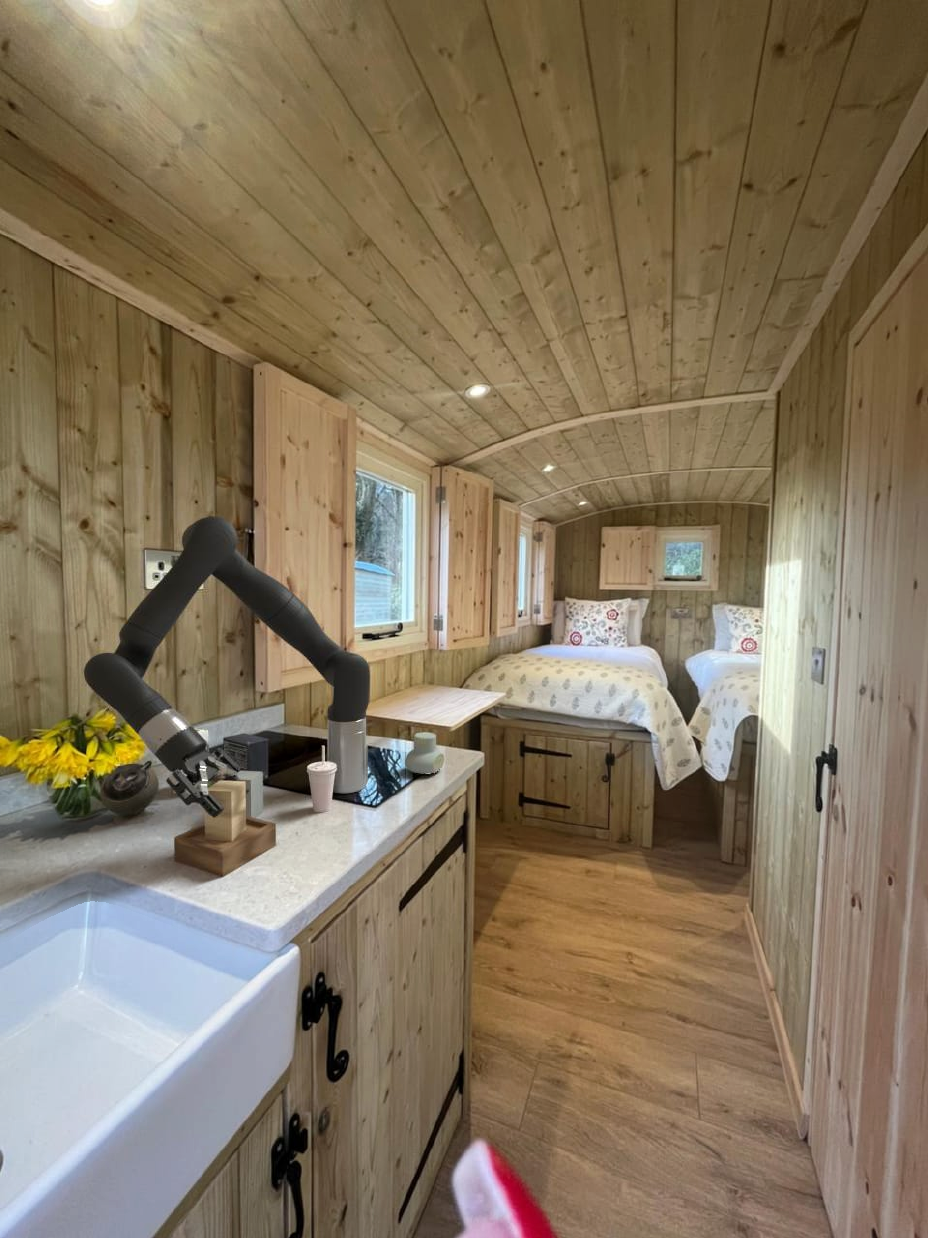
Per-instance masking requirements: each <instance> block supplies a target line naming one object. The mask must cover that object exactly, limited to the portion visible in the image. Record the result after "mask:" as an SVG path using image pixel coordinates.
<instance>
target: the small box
mask: <svg viewBox="0 0 928 1238" xmlns="http://www.w3.org/2000/svg"><path fill="white" fill-rule="evenodd" d="M222 740H223V743H222V744H223V751H224V752H225V753H226V754H227V755H228V756H229V757H230V758H231V759H232V760H233V761H234V762H235V763H236V764H237V765H238V766H239V767H240V770H239V771H259V772H263V781H264V780H267V779H269V739H268V738H267V737H261V736H259V735H254V734H253V735H252V734H248V733H245V732H244V733H239V734H234V735H231V736H230V735H229V736H224V737H223V739H222ZM227 766H228V768H230V769H232V767H231V766H230V765H229V764H227ZM239 771H238V772H239ZM224 776H226V777H227V775H226V774H224Z"/></svg>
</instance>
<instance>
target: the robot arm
mask: <svg viewBox="0 0 928 1238" xmlns="http://www.w3.org/2000/svg"><path fill="white" fill-rule="evenodd" d="M238 543H239V537H238V534H237V530H236V529H235V526H233V524H232V523H231V522H230V521H229V520H227V519H225V518H223V517H221V516H220V517H219V516H205V517H201V518H200V519H198V520H196V521H194V523H191V524H190V525H189V526H188V527H187V528H186V529H185V530H184V531H183V533H182V536H181V545H182V548H183V549H182V551H181V553H180V555H179V556H178V558H177V560H176V561H175V562H174V564H173V565H172V566H171V568H170V569H169V570H168V572H167V573H166V574H165V575H164V576H163V578H162V579H161V580H160V581H159V582H158V583H157V584H156V585H155V586H154V587H152V589H151V590H150V591H149V592H148V593H147V595H146V596H145V598H143V599H142V600H141V602H140V603H139V604H138V606H136V608H135V609H134V611H132V613H131V614H130V616H129V617H128V619H126V621H125V622H124V624H123V625H122V626H121V629H120V630H119V634H118V636H119V640H120V642H119V644H118V645H117V647H116V648H115V650H114V652H101V653H98V654H96V655H93V656H92V657H91V658H89V659H88V660H87V662H86V663H85V666H84V668H83V676H84V680H85V682H86V684H87V685H88V686H89V688H90V689H91V690H92V691H93V692H94V693H95V694H96V695H97V696H98V697H100V699H102V700H103V701H104V702H106V703H107V704H108V705H109V707H111V708H113V709H114V710H115V711H117V713H118V714H120V716H121V717H122V719H124V722H126V723H127V724H128V725H129V726H130V727H131V729H132V730H133V731H134V732H135V733H136V734H137V735H138V737H139V738H140V739H141V741H142V742H143V744H144V745H145V746H146V747H147V748H148V749H149V750H150V752H151V753H152V754H153V755H154V756H155V757H156V758H157V759H158V760H159V761H160V762H161V763H162V765H163V766H164V767H165V768H166V769H167V770H168V771H169V772H171V774H170V775H169V776H168V777H167V778H166V780H165V781H166V783H167V784H168V785H169V787H170V788H171V789H172V791H173V790H174V791H175V792H176V794H175V795H177V796H178V798H180V800H181V801H182V803H184V804H185V805H186V806H190V805H191V804H196V805H200V807H202V809H203V811H204V812H205V811H206V812H207V813H208V814H209V815H211V816H212V817H213V818H215V817H217V816H218V815H219V814H220V813H221V812H222V811H223V810H224V808H223V807H222V805H221V804H220V803H219V802H218V801H217V800H216V799H215V798H214V797H213V796H212V795H211V794H209V795H208V788H207V783H208V782H209V781H210V782H211V781H213V782H218V781H220V780H222V781H241V780H240V779H239V778H238V776H237V775H238V771H239V770H240V767H239V766H238V765H237V764H236V763H235V762H234V761H233V760H232V759H231V758H230V757H229V756H228V755H227V754H226V753H225V752H224V749H222V748H221V747H217V749H216V750H215V751H214V752H212V753H211V752H208V751H207V750H206V746H207V742H206V741H205V739H204V738H203V737H202V736H201V735H200V734H199V733H198V732H197V731H196V730H195V729H194V728H195V727H194V726H193V725H192V724H191V723H189V721H188V719H186V718H185V717H184V716H183V715H182V714H181V713H179V712H178V711H177V710H176V709H175V708H174V707H172V705H171V704H170V703H169V702H168V701H167V700H166V699H165V698H164V697H163V695H161V694H160V693H159V692H158V691H156V689H154V688H152V687H151V686H150V685H148V683H146V682H145V680H144V679H143V678H144V676H145V675H146V673H147V670H148V669H149V666H150V664H151V662H152V660H153V657H154V656H155V655H154V654H155V652H156V650H157V649H158V647H159V646H160V645H161V643H162V642H163V641H164V639H165V638H166V637H167V635H168V634H169V632H170V631H171V630H172V628H173V627H174V625H175V624H176V622H177V621H178V620H179V617H180V616H181V615H182V613H183V612H184V611H185V609H186V607H188V605H189V603H190V601H191V600H192V599H193V597H194V596H195V595H196V593H198V590H199V589H200V588H201V587H202V586H203V584H204V583H206V581H207V580H208V578H210V577H211V575H212V576H213V577H214V578H216V579H217V580H219V581H220V582H221V583H222V584H223V585H224V586H225V587H227V588H228V589H229V591H231V592H232V593H233V594H234V595H235V596H236V597H237V598H238V599H239V600H240V601H241V602H242V603H243V605H245V607H247V608H248V609H249V610H250V611H251V612H252V613H253V614H254V615H255V616H256V617H257V618H258V619H259V620H260V621H261V622H262V623H263V624H265V626H266V627H268V628H269V629H270V630H271V631H272V632H273V633H274V634H276V635H277V636H278V637H279V638H280V639H282V640H283V641H284V642H285V643H287V644H288V645H289V646H291V647H292V648H293V649H294V650H296V651H297V652H299V653H300V654H302V656H303V657H305V659H306V660H307V661H308V662H309V663H310V664H311V665H312V666H313V667H314V668H315V670H317V672H318V673H319V674H320V675H321V677H322V678H323V679H324V680H325V681H326V682H327V683H328V684H329V685H330V686H331V687H332V689H333V690H332V692H333V694H332V703H331V704H330V705H329V706H328V707H327V713H326V714H327V719H326V720H327V724H326V725H327V762H333V763H335V764H336V765H337V770H336V771H335V777H334V785H333V793H334V794H335V793H337V794H351V793H355V792H360V791H362V790H363V789H365V788H366V786H367V783H369V782H368V780H369V775H368V773H369V768H368V767H369V764H368V763H369V760H368V758H369V757H368V755H369V747H368V745H367V709H368V708H369V704H370V687H371V672H370V666H369V663H368V661H367V660H366V658H364V657H363V656H362V655H360V654H358V653H352V652H351V651H350V652H349V651H347V650H345V649H343V648H342V647H341V646H340V645H338V644H337V643H336V642H335V641H333V640H332V638H330V637H329V636H328V635H327V634H326V633H325V631H324V630H323V629H322V628H321V626H320V625H319V623H318V622H317V621H318V620H316V618H315V616H314V614H313V613H312V611H310V609H309V607H307V605H306V604H305V603H304V601H301V599H300V598H299V597H298V596H297V595H296V594H295V593H294V592H293V591H292V590H290V588H288V587H287V586H286V585H284V584H283V583H281V582H280V581H279V580H277V579H275V578H274V577H272V576H270V575H269V574H267V573H265V572H263V571H262V570H260V569H259V568H257V567H255V566H254V565H253V564H252V563H251V562H249V561H248V560H247V559H246V557H244V556H243V554H242V553H240V551H239V550H238V549H237V546H238ZM227 764H229V765H230V766H231V767H232V769H230V768H228V766H227ZM224 774H226V775H227V777H226V776H224ZM186 789H187V790H188V791H189V793H190V795H187V794H186V792H185V790H186ZM248 792H249V789H248V788H247V786H246V794H247V793H248Z"/></svg>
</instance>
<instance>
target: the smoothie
mask: <svg viewBox="0 0 928 1238" xmlns="http://www.w3.org/2000/svg"><path fill="white" fill-rule="evenodd" d="M325 749H326V748H325V745H321V761H316V762H312V763H310V764H308V765H307V767H306V773H307V774H308V779H309V786H310V793H311V801H312V809H313V812H315V813H326V812H328V810H329V811H330V810H331V808H332V802H333V801H332V800H333V793H334V792H333V785H334V777H335V771H336V770H337V765H336V764H335V763H333V762H328V761H325V760H326V759H325V755H326V753H325V751H326V750H325Z"/></svg>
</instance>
